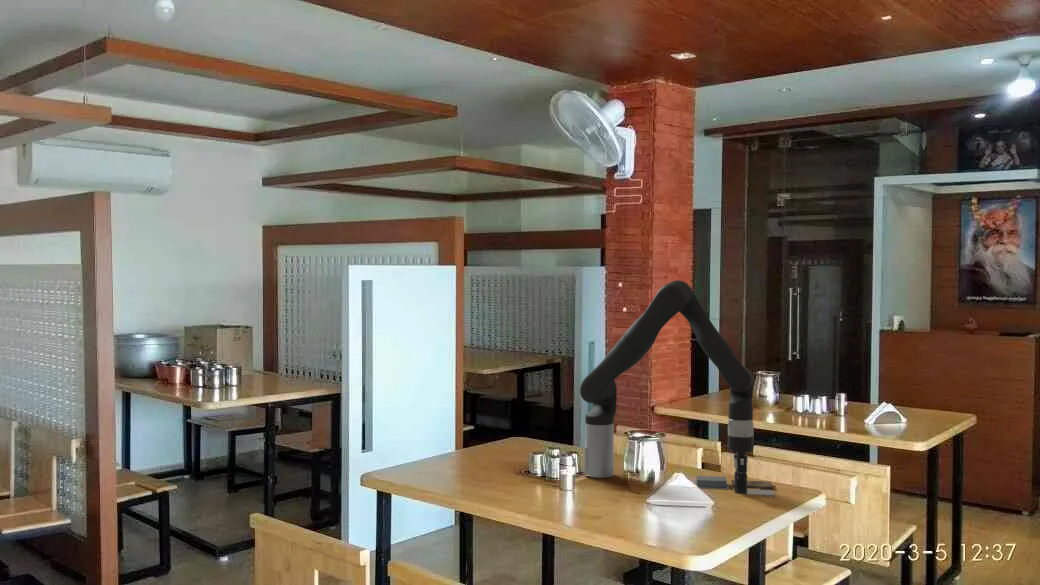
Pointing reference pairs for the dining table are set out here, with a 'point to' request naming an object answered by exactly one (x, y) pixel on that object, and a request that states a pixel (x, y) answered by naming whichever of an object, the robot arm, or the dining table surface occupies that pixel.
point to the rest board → (758, 485)
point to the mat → (714, 487)
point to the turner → (751, 491)
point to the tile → (711, 481)
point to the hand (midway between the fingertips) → (740, 488)
